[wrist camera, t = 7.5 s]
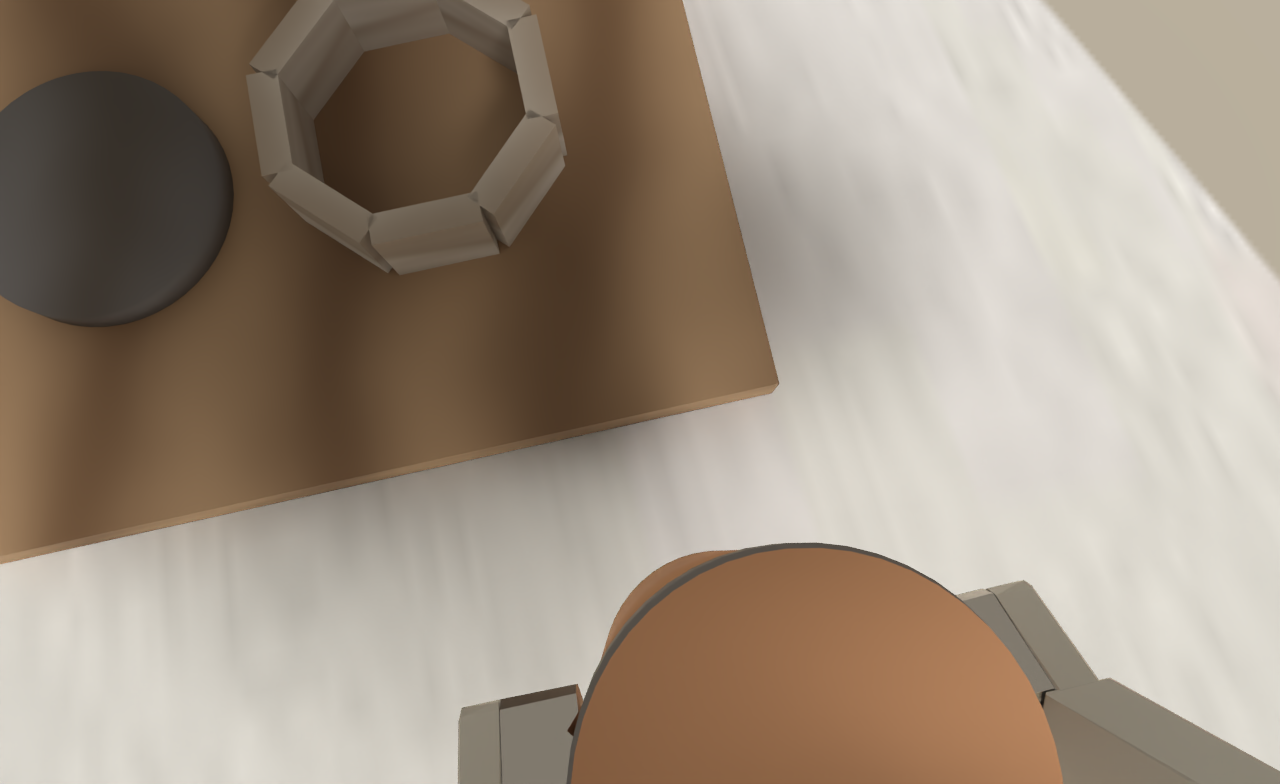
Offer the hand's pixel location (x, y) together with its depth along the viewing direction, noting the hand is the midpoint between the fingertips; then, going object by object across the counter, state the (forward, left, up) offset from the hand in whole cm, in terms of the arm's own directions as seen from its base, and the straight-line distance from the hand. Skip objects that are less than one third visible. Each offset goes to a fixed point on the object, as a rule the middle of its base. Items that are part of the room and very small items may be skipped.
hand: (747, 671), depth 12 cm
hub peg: (0, -1, -5) cm, 5 cm away
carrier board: (-8, +14, -13) cm, 21 cm away
